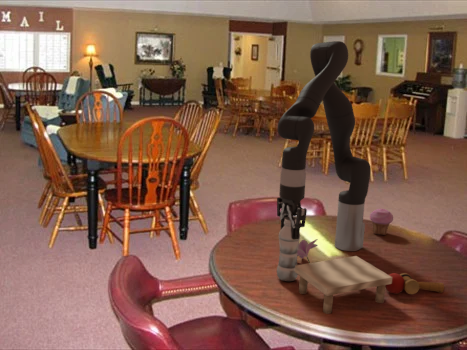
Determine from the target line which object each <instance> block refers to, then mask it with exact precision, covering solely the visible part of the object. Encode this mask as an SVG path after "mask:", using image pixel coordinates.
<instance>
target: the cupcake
mask: <svg viewBox="0 0 467 350" xmlns="http://www.w3.org/2000/svg"><path fill="white" fill-rule="evenodd" d="M369 220H370V222H372V223H371V224H372V233H373V234H375V235H382V236H386V235H387V232H388V228H389V225H390V224H391V223H393V222H394V215H393V213H392V212H391V211H389V210H388V209H386V208H380V207H379V208H376V209H374V210H373V211H372V212H370V214H369Z"/></svg>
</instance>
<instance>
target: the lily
mask: <svg viewBox="0 0 467 350" xmlns="http://www.w3.org/2000/svg"><path fill="white" fill-rule="evenodd" d="M317 241H318V239H314V240H312V241H310V242H308V241H307V240H305V239H302V240H300V241H299V245H298V252H297V257H299V258H300V259H304V258H305V257H306V259H307V260H308V263H311V262H310V259H309V252H310V251H311V250H312V249H314V248H316V247H318V244H316V243H315V242H317Z"/></svg>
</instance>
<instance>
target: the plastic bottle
mask: <svg viewBox="0 0 467 350" xmlns="http://www.w3.org/2000/svg"><path fill="white" fill-rule="evenodd" d="M295 224H296V220H295ZM284 225H285V226H284V227H283V228H282V229H281V228H280V229H281V230H279V233H278V242H279V256H278V257H279V258H278V264H277V266H276V275H277V278H278V279H279V280H281V281H283V282H294V281H296V279H297V278H298V276H299V275H298V274H297V273H296V272H295V265H298V256H297V252H298V245H299V243H300V242H301V240H300V239H301V233H299V239H296V240H293V239H292V221H291V220H290V218H289V217H285V220H284Z"/></svg>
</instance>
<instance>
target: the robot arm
mask: <svg viewBox="0 0 467 350" xmlns="http://www.w3.org/2000/svg"><path fill="white" fill-rule="evenodd" d="M309 57H310V63H311V67H312V70H313V74H314V77H313V78H312V79H311V80H309V81H308V82H307V83H306V84H305V85H304V86H303V88H302V89H301V90H300V92H299V94H298V97H297V98H296V101H295V102H294V103H293V104H292V105H291V106H290V107H289V108H288V109H287V110H286V111H285V112H284V113H283V115H282V116H281V117H280V118H279V120H278V123H277V132H278V135H279V136H280V137H281V138H282V139H285V140H293V141H298V143H297V145H296V146H288V147H285V148H284V149H283V151H282V156H281V157H282V159H281V168H280V169H281V170H280V175H279V177H280V178H279V179H280V180H279V195H278V196H279V197H277V198H276V216H277V217H279V220H280V230H281V229H282V228H283V227H284V226H285V225H284V220H285V217H289V218H290V220H291V221H292V239H293V240H296V239H299V233H300V230H301V228H304V227H305V226H306V219H307V208H305V207H304V208H303V207H302V203H301V202H302V200H303V199H304V198H305V194H306V193H305V192H306V180H307V179H306V178H307V177H306V176H307V173H306V165H307V154H308V151H309V147H310V144H311V141H312V138H313V136H314V132H315V123H314V121H313V119H312V118H314V117H315V116H316V115H317V112H318V110H319V107H321V104H323V108H324V113H325V114H324V115H325V119H326V123H327V127H328V131H329V135H330V140H331V146H332V150H333V151H332V152H333V157H334V158H333V159H334V166H335V172H336V176H337V177H338V178H339V180H342V181H343V182H347V183H349V187H348V189H347V190H343V191H340V192H339V193H338V200H337V201H338V202H337V213H336V223H335V224H336V225H335V226H336V228H335V240H334V247H335V248H336V249H338V250H341V251H345V252H357V251H359V250H361V249H363V248H364V239H365V228H366V223H365V222H364V215H365V214H364V212H365V204H366V202H365V201H366V198H367V196H368V192H369V186H370V181H371V180H370V178H371V171H372V170H371V165H370V163H369V161H368V160H366V159H364V158H361V157H356V156H353V153H352V151H351V144H350V142H351V141H350V140H351V137H352V134H353V132H354V130H355V125H356V118H355V113H354V108H353V105H352V103H351V101H350V99H349V98H348V96H347V95H346V94H345V93H344V91H342V90H341V89H340V88H339V87H338V86H337V85H336V83H335V81H336V80H337V79H338V77H339V76H340V75H341V74H342V72H343V71H344V70H345V67H346V66H347V63H348V60H349V50H348V47H347V45H346V43H344V42H343V41H341V40H338V41H337V40H335V41H334V40H333V41H326V42H325V41H324V42H317V43H314V44H313V45H312V46H311V48H310V52H309ZM295 220H296V224H295ZM280 230H279V231H280ZM300 234H301V233H300Z"/></svg>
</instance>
